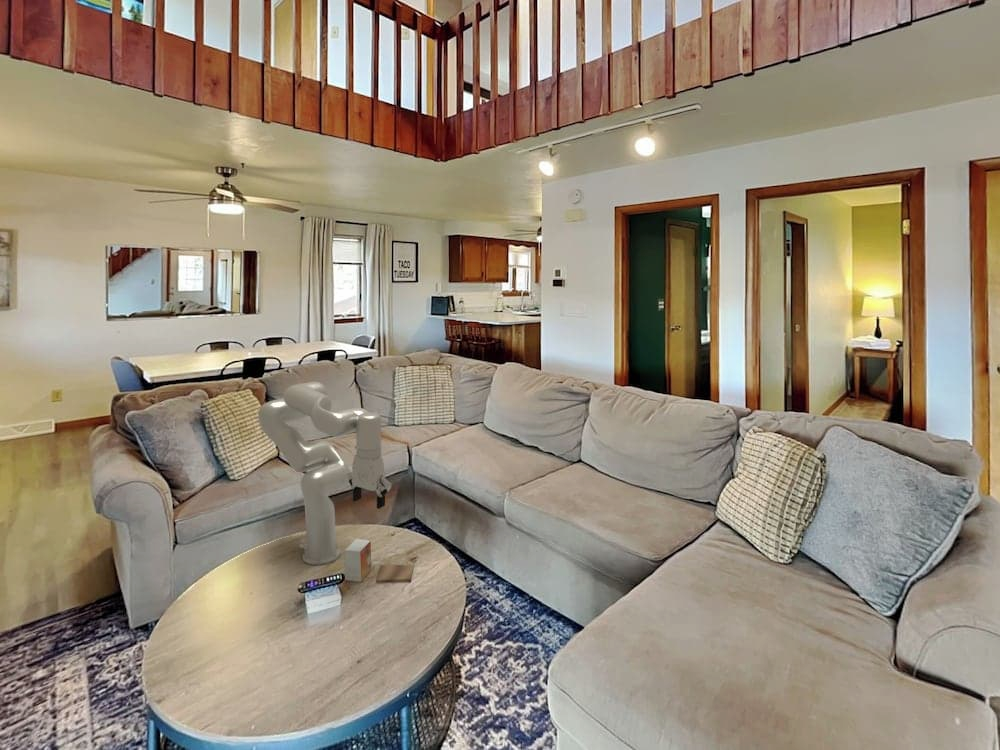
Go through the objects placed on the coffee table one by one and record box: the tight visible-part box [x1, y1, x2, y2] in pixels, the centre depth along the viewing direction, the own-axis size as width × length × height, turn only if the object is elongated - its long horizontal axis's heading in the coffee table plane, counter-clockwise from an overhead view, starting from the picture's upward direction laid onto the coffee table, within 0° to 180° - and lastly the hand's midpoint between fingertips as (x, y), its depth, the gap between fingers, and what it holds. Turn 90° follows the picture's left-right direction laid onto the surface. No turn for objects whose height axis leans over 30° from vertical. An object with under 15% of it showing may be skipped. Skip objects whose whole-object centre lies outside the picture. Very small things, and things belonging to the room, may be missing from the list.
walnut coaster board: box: [375, 564, 415, 584], centre depth 173 cm, size 11×9×1 cm
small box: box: [343, 538, 372, 583], centre depth 171 cm, size 8×6×10 cm
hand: (368, 503), depth 168 cm, fingers open, 9 cm apart
